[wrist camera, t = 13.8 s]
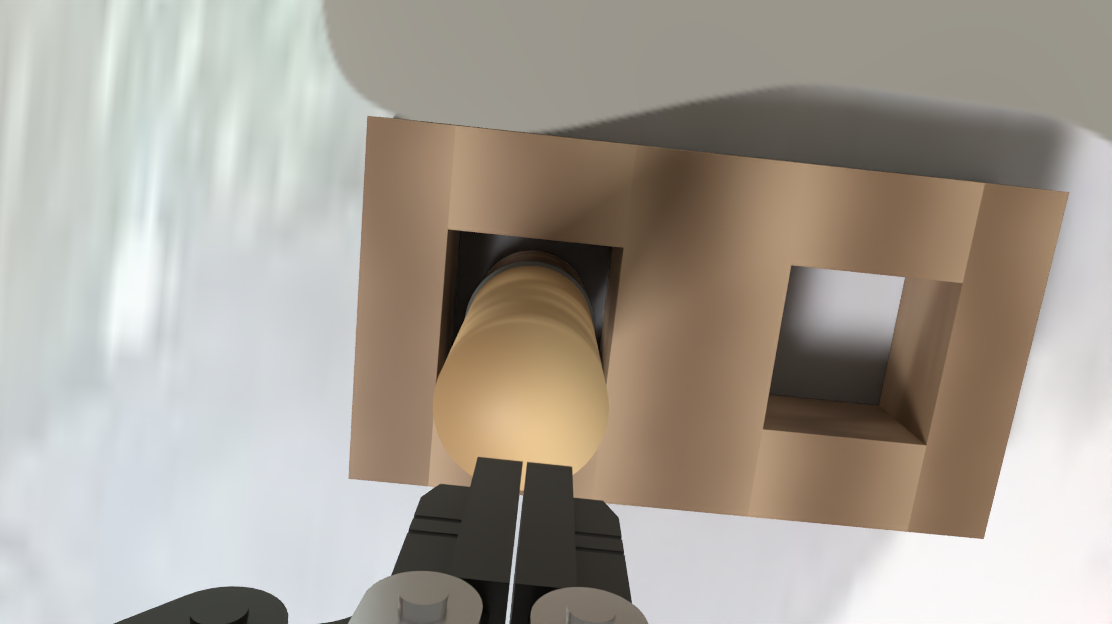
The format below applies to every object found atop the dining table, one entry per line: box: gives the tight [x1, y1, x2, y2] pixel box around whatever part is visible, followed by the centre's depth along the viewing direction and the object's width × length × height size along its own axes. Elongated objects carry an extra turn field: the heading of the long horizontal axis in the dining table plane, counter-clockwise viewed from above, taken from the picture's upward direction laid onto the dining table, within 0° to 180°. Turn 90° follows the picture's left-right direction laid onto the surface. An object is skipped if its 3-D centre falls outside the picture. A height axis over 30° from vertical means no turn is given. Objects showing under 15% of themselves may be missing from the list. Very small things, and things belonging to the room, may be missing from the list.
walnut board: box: [349, 116, 1069, 539], centre depth 28 cm, size 22×12×4 cm, turn 84°
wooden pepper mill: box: [433, 251, 609, 491], centre depth 24 cm, size 4×4×12 cm
